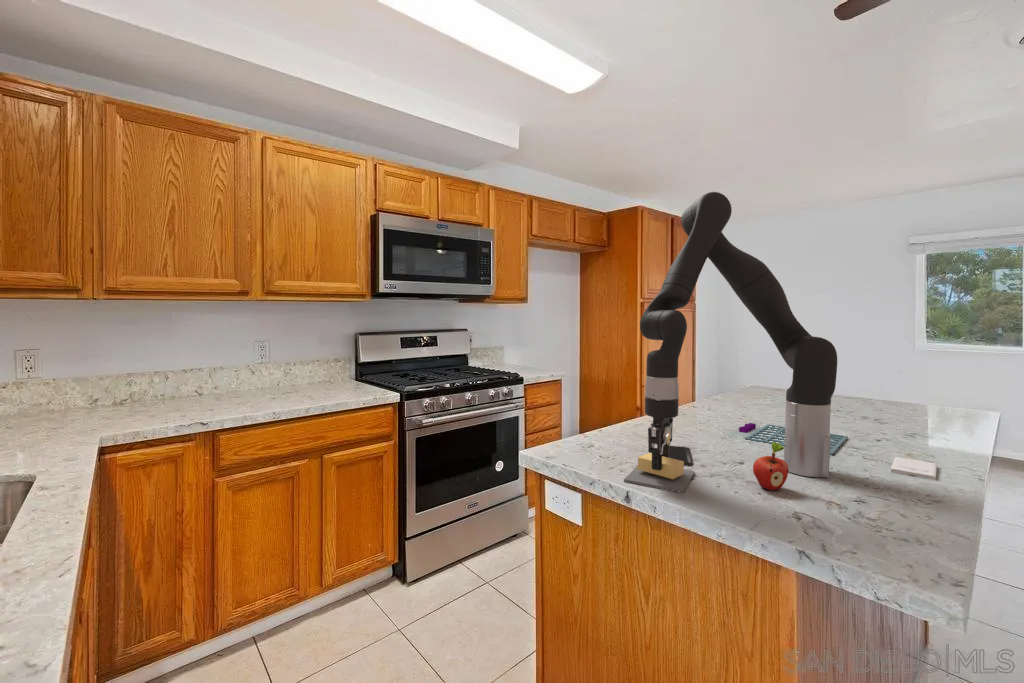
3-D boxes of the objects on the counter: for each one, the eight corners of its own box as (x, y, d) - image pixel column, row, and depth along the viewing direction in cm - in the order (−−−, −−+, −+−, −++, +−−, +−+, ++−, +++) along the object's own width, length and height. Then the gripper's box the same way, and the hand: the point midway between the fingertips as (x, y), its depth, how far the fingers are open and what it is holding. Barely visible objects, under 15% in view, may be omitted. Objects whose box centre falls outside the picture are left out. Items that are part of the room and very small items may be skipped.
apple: (788, 497, 98) (789, 450, 97) (751, 491, 101) (753, 446, 101) (787, 485, 105) (788, 441, 104) (753, 480, 108) (754, 437, 107)
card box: (648, 464, 114) (649, 452, 114) (683, 474, 108) (683, 461, 108) (637, 469, 111) (638, 457, 111) (672, 479, 104) (673, 466, 104)
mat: (694, 473, 112) (694, 471, 112) (682, 493, 100) (682, 490, 100) (640, 464, 119) (641, 462, 119) (623, 481, 107) (623, 479, 107)
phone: (689, 447, 132) (692, 463, 118) (689, 451, 132) (692, 467, 118) (660, 445, 134) (660, 460, 120) (660, 448, 134) (660, 464, 120)
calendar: (829, 461, 124) (830, 452, 124) (720, 440, 144) (720, 432, 144) (847, 441, 143) (848, 433, 143) (749, 425, 163) (749, 418, 163)
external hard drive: (936, 469, 117) (935, 482, 108) (894, 462, 122) (890, 474, 113) (937, 463, 117) (935, 475, 108) (894, 456, 122) (890, 467, 113)
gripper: (653, 389, 116) (652, 455, 117) (636, 398, 104) (635, 471, 105) (684, 392, 112) (683, 459, 113) (671, 401, 100) (669, 477, 101)
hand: (660, 465), depth 109 cm, fingers open, 6 cm apart
